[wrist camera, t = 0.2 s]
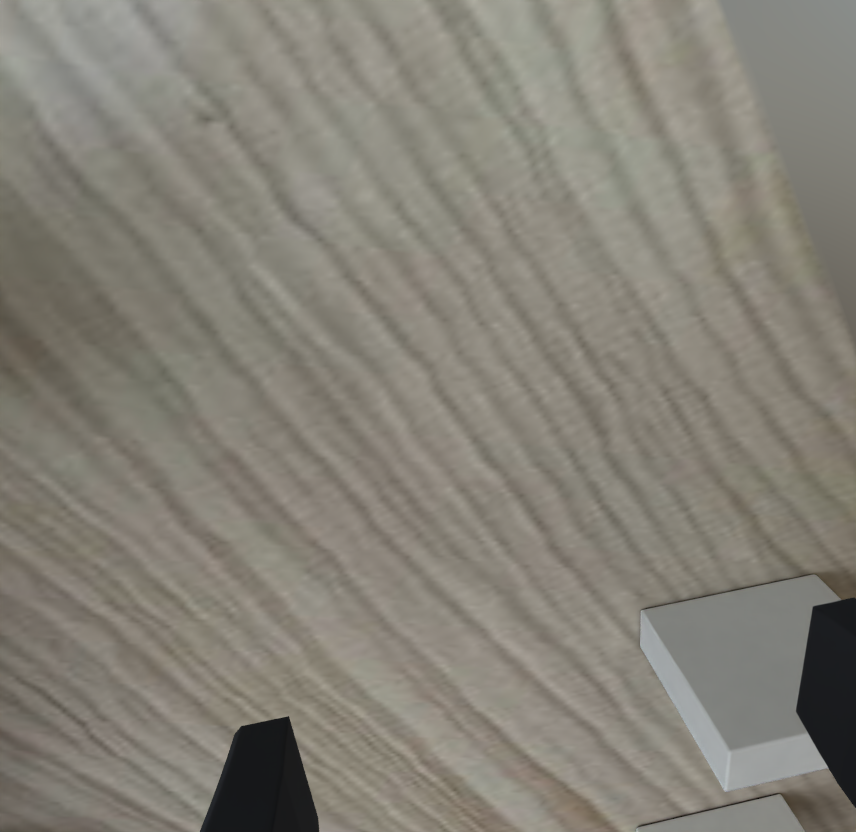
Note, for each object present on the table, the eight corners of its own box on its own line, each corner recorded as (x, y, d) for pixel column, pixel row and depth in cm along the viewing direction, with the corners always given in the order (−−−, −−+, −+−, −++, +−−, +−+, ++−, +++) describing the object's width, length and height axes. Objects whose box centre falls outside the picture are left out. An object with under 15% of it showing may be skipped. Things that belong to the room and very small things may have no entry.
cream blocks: (776, 818, 29) (870, 965, 24) (634, 852, 29) (702, 1009, 24) (815, 572, 24) (947, 702, 19) (639, 609, 23) (729, 752, 18)
